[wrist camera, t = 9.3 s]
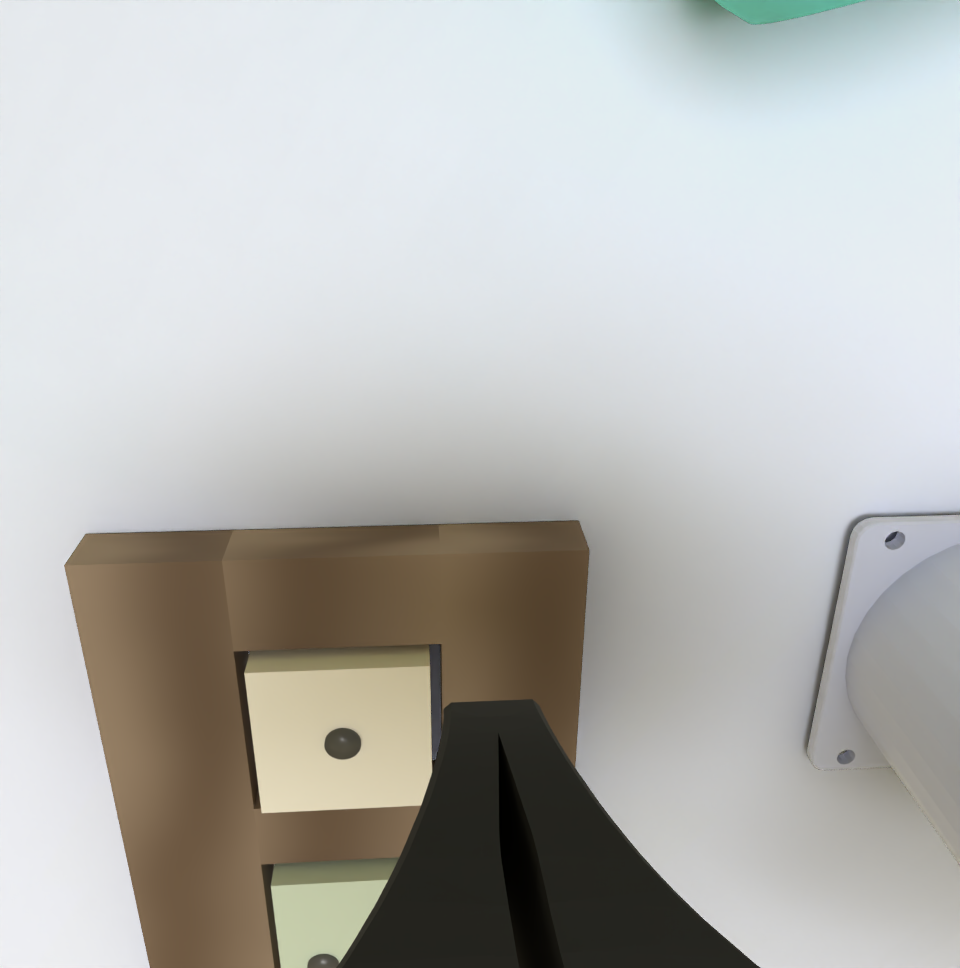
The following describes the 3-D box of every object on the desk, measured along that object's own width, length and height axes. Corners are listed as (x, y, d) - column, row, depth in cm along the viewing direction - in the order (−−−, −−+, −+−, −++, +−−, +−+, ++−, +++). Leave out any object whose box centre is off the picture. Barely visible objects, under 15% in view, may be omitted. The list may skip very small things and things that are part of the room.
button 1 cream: (428, 620, 24) (429, 669, 22) (430, 752, 25) (433, 808, 24) (256, 625, 23) (243, 676, 21) (272, 759, 25) (261, 816, 23)
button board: (578, 520, 23) (589, 549, 21) (543, 1112, 33) (549, 1157, 31) (85, 534, 22) (64, 565, 20) (205, 1137, 32) (196, 1184, 31)
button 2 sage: (432, 821, 27) (433, 880, 25) (434, 927, 28) (436, 989, 27) (280, 829, 26) (270, 889, 24) (292, 935, 28) (283, 999, 26)
